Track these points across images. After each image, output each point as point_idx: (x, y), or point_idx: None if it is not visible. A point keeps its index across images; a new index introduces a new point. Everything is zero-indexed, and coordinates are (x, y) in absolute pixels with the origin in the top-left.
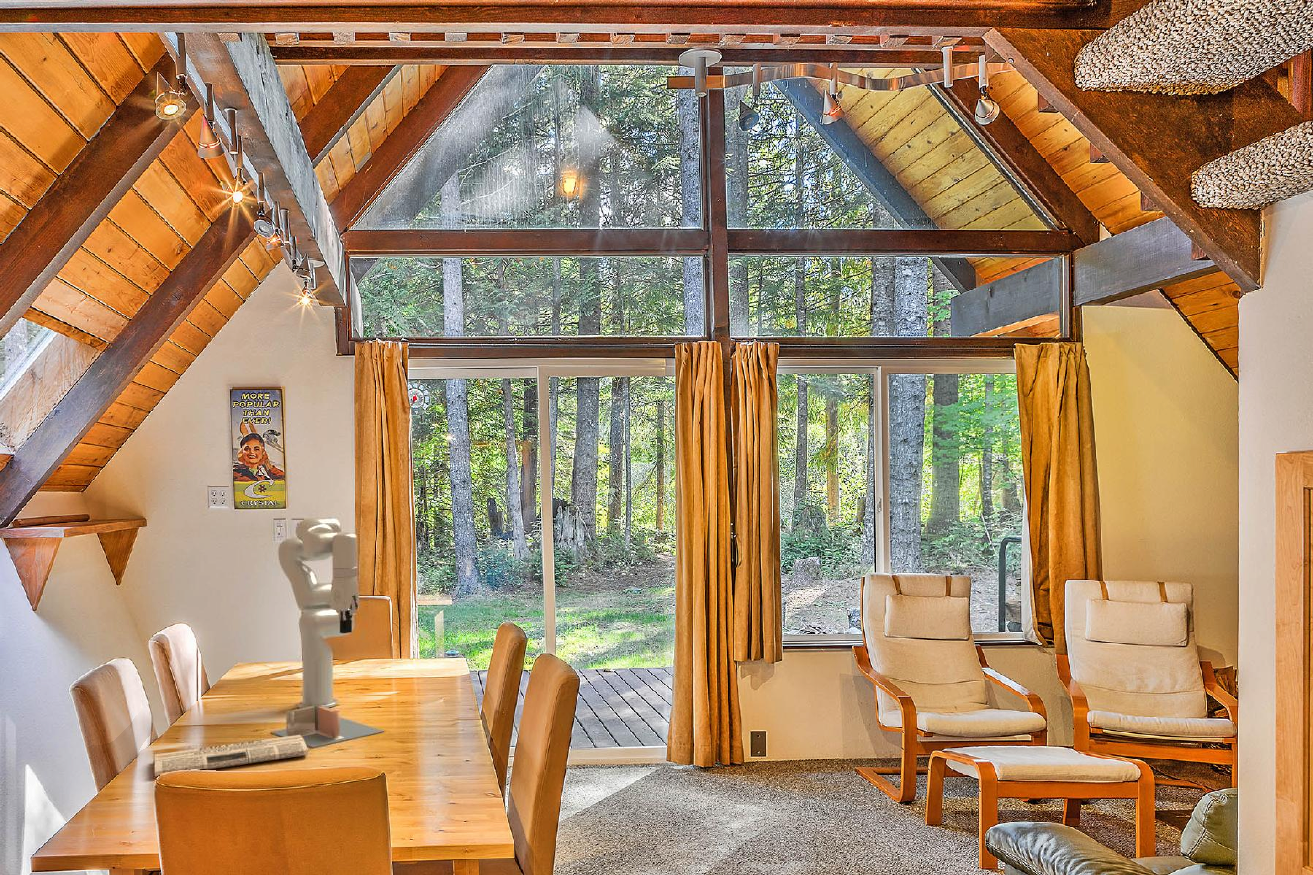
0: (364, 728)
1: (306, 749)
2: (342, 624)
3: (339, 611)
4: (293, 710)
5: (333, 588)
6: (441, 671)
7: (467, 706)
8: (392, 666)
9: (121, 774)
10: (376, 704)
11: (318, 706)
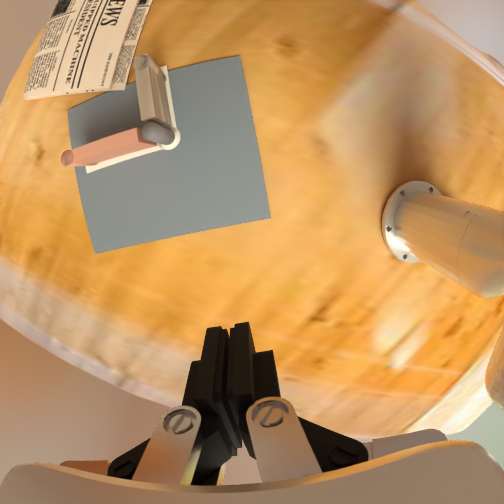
0: (133, 228)
1: (23, 97)
2: (200, 373)
3: (285, 479)
4: (145, 68)
5: None
6: (435, 422)
7: None
8: None
9: None
10: (340, 319)
11: (143, 130)
